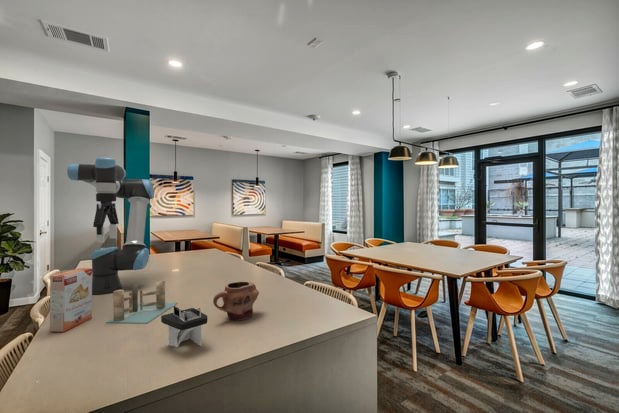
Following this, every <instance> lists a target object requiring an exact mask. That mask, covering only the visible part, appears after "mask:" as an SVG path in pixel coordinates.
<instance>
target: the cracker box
mask: <svg viewBox="0 0 619 413" xmlns="http://www.w3.org/2000/svg"><path fill="white" fill-rule="evenodd" d="M49 283H50V284H49V286H50V287H49V290H50V291H49V332H50V333H52V332H53V333H58V332H59V333H66V332H67V331H69V330H72V329H73V328H75V327H77V326H79V325H81V324H84V323H86V322H87V321H89V320H91V319H92V318H93V314H92V313H93V312H92V311H93V294H92V267H91V268H90V267H86V268H85V267H84V268H83V267H81V268H80V267H79V268H76V269H72V270H68V271H64V272H59V273H56V274H51V275H50V279H49Z"/></svg>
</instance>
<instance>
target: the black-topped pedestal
mask: <svg viewBox="0 0 619 413" xmlns="http://www.w3.org/2000/svg"><path fill="white" fill-rule="evenodd" d="M172 308H173V309H172V310H173V312H170V313H166V314H161V315H160V316H161V317H160V318H161V323H162V324H164V325H166V326H168V346H171V347H175V348H179V347H180V344H181V342H183V341H186V340H191V341H192V340H193V341H192V342H193V343H195V344H196V343H197V344H196V345H197V346H199V345H200V346H201V347H202V326H203V325H206V324H207V323H208V315H207V314H205V313H204V312H202V307H199V308H194V307H191V308H186V309H182V310H181V308H178V307H177V306H176V305H175V306H174V305H173V307H172ZM200 346H199V347H200Z"/></svg>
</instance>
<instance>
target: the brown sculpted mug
mask: <svg viewBox="0 0 619 413" xmlns="http://www.w3.org/2000/svg"><path fill="white" fill-rule="evenodd" d="M259 294H260V292H259V290H258V289H257V287H256V285H255V283H254V282H252V281H238V282H230V283H227V284H226V285H225V287H224V291H221V292H218V293H217V294H216V295H214V297H213V302H212V303H213V305H214V307H215V308H216V309H218V310H220V311H223V312H224V313H227V314H226V315H227V317H228V319H229V320H231V321H243V320H246V319H249V318H251V317H252V316H253V314H254V309H253V306H254V304H255V302H256V300H257V298H258V296H259ZM219 299H222V303H223V305H222V306H219V305H218V300H219Z"/></svg>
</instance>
